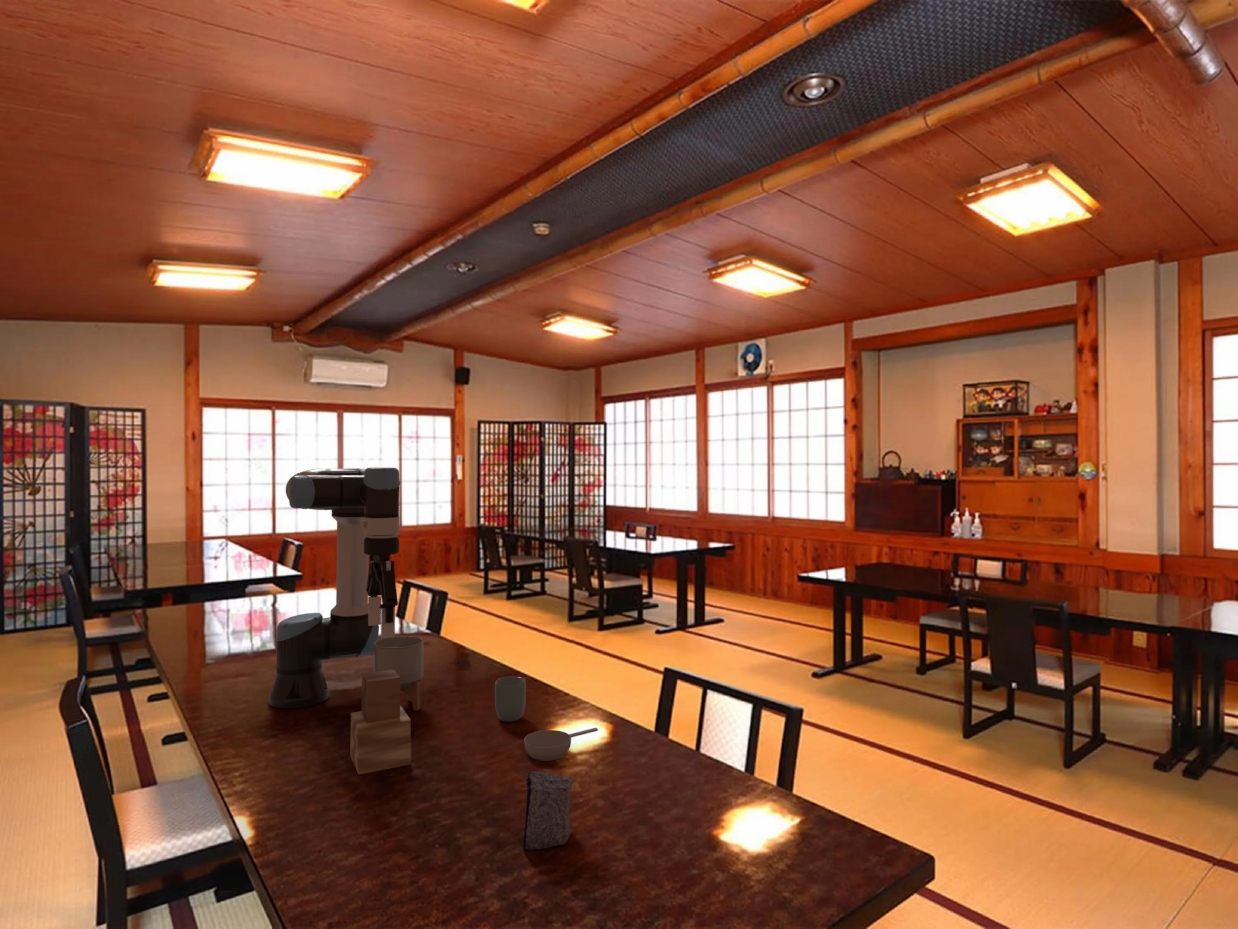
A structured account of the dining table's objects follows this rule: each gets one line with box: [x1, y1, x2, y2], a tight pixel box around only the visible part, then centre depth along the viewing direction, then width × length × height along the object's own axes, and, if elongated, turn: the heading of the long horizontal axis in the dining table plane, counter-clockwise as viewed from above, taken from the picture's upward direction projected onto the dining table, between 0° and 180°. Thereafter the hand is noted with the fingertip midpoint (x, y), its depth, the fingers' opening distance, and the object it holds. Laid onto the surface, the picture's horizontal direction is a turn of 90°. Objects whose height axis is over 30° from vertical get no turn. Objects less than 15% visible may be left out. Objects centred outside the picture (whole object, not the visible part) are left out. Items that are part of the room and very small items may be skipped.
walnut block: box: [361, 670, 401, 723], centre depth 162 cm, size 7×7×9 cm
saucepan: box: [523, 727, 599, 762], centre depth 168 cm, size 11×18×4 cm, turn 117°
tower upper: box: [350, 704, 412, 752], centre depth 162 cm, size 11×11×5 cm
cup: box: [494, 676, 527, 723], centre depth 188 cm, size 8×8×10 cm
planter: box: [373, 635, 424, 711], centre depth 197 cm, size 13×13×18 cm
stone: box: [522, 771, 573, 851], centre depth 128 cm, size 12×10×10 cm
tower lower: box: [349, 734, 412, 775], centre depth 161 cm, size 11×11×5 cm
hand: (381, 631), depth 162 cm, fingers open, 13 cm apart
